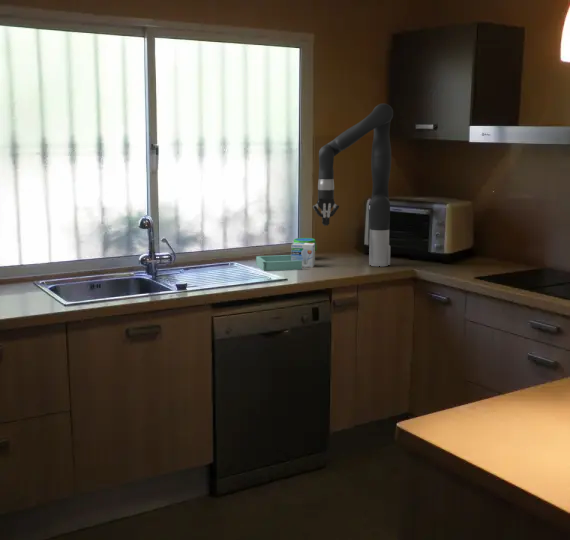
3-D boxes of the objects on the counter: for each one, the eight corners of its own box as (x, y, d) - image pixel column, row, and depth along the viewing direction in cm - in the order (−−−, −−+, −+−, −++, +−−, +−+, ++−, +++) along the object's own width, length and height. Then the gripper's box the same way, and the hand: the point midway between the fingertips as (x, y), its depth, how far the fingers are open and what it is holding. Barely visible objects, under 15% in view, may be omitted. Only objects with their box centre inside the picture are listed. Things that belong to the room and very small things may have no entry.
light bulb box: (290, 266, 357) (290, 244, 355) (293, 264, 363) (293, 242, 361) (313, 267, 355) (313, 244, 353) (315, 265, 361) (315, 242, 360)
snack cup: (298, 262, 369) (298, 241, 367) (285, 259, 377) (285, 239, 375) (323, 259, 378) (323, 239, 376) (309, 256, 386) (310, 236, 384)
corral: (292, 262, 367) (292, 254, 366) (301, 269, 350) (301, 260, 349) (255, 264, 363) (255, 256, 362) (263, 270, 346) (263, 262, 345)
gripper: (337, 188, 360) (336, 224, 363) (310, 188, 357) (309, 224, 360) (342, 189, 353) (341, 226, 356) (314, 189, 350) (314, 226, 353)
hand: (325, 225), depth 358 cm, fingers closed
